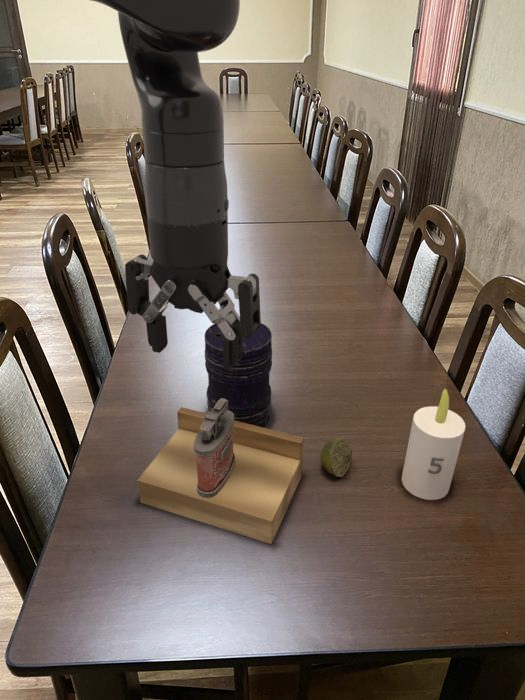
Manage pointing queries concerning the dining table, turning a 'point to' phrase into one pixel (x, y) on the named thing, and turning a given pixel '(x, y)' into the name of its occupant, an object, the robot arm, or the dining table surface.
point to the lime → (336, 456)
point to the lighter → (215, 450)
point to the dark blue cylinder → (241, 376)
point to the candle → (433, 450)
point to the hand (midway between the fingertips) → (194, 357)
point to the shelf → (241, 488)
